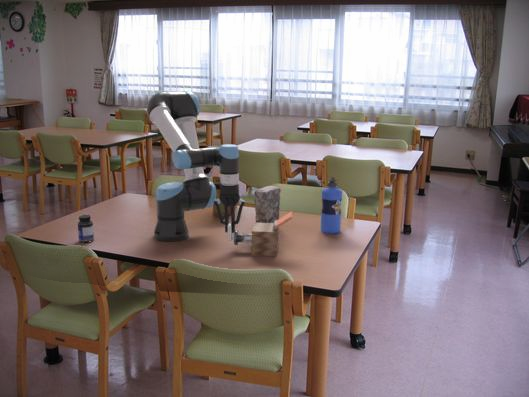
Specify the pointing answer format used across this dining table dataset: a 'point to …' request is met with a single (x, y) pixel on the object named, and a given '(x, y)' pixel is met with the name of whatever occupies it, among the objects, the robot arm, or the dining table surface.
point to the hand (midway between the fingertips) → (230, 239)
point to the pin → (242, 238)
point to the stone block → (267, 204)
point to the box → (217, 184)
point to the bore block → (265, 239)
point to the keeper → (282, 220)
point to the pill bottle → (85, 228)
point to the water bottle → (331, 208)
